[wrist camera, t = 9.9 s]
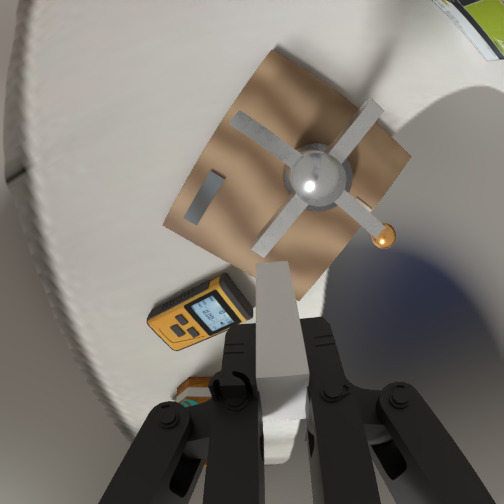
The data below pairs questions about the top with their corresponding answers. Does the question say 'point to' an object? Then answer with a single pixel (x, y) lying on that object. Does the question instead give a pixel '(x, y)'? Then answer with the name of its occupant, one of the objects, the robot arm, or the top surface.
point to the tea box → (479, 23)
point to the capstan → (316, 177)
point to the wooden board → (279, 176)
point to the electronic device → (200, 313)
